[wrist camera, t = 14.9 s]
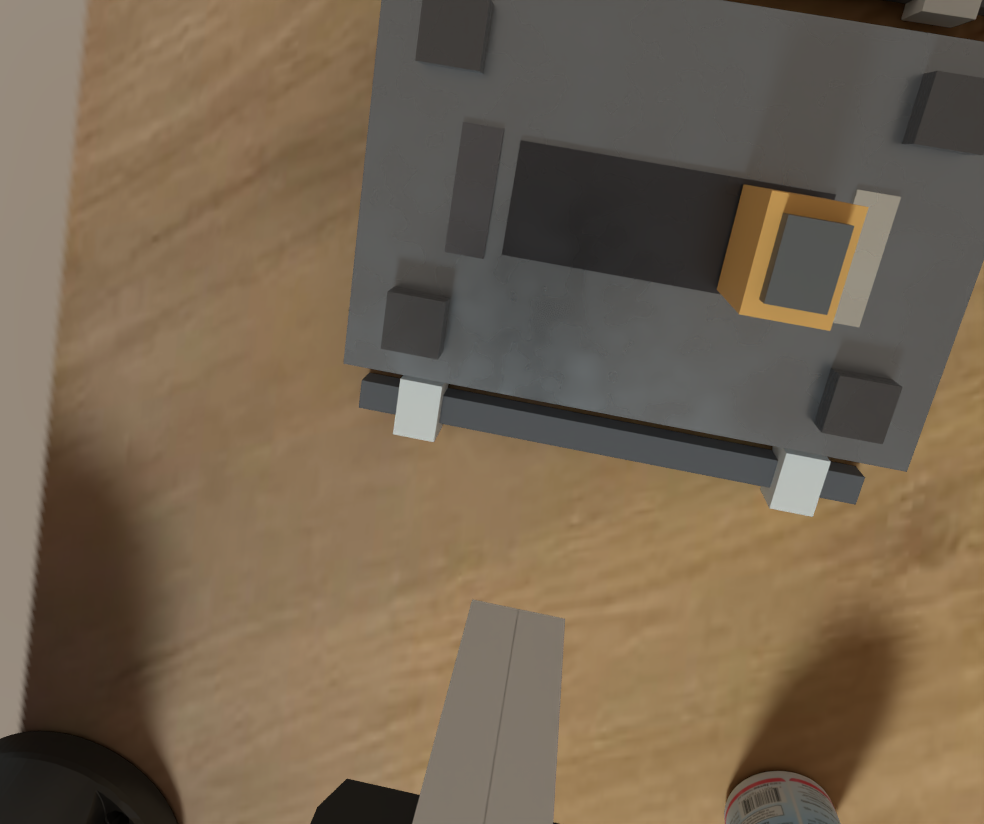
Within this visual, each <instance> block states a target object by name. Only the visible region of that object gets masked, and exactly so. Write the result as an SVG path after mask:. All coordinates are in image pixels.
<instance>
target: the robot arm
mask: <svg viewBox="0 0 984 824" xmlns="http://www.w3.org/2000/svg"><path fill="white" fill-rule="evenodd" d="M564 627H565V619H563V618H559V617H554V616H549V615H544V614H540V613H535V612H530V611H525V610H520V609H516V608H511V607H506V606H501V605H496V604H492V603H487V602H482V601H477V600H472V602H471V606H470V610H469V614H468V617H467V621H466V625H465V629H464V632H463V636H462V640H461V643H460V647H459V651H458V655H457V658H456V662H455V666H454V670H453V673H452V677H451V681H450V685H449V688H448V692H447V696H446V700H445V703H444V707H443V711H442V714H441V718H440V722H439V726H438V729H437V733H436V737H435V741H434V744H433V748H432V752H431V756H430V759H429V763H428V767H427V770H426V774H425V778H424V782H423V785H422V789H421V793H420V795H417V794H413V793H408V792H404V791H399V790H395V789H391V788H386V787H382V786H377V785H373V784H368V783H364V782H359V781H355V780H351V779H346V780H345V781H344V782H343V783H342V784H341V785H340V786H339V787H338V788H337V789H336V790H335V791H334V792H333V793H332V794H331V795H329V796H328V797H327V798H326V799H325V800H324V801H323V802H322V803H321V804H320V805H319V806H318V807H317V809H316V812H315V814H314V817H313V819H312V821H311V824H558V823H554V822H553V816H554V799H555V782H556V765H557V748H558V730H559V713H560V696H561V679H562V662H563V645H564ZM0 824H177V822H176V819H175V817H174V814H173V812H172V810H171V809H170V807H169V805H168V803H167V802H166V800H165V799H164V797H163V796H162V794H161V793H160V792H159V790H158V789H157V788H156V787H155V786H154V784H153V783H152V782H151V781H150V780H149V779H148V778H147V777H146V776H145V775H144V774H143V773H142V772H141V771H139V770H138V769H137V768H136V767H135V766H133V765H132V764H131V763H129V762H128V761H127V760H125V759H124V758H122V757H121V756H119V755H117V754H116V753H114V752H112V751H111V750H109V749H107V748H105V747H103V746H101V745H98V744H96V743H94V742H91V741H88V740H86V739H83V738H80V737H76V736H72V735H68V734H63V733H56V732H46V731H33V732H23V733H17V734H14V735H10V736H6V737H4V738H1V739H0Z"/></svg>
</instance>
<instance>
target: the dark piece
mask: <svg viewBox="0 0 984 824" xmlns="http://www.w3.org/2000/svg"><path fill="white" fill-rule="evenodd" d="M885 1H892V2H898V3H904V4H905V8H904V11H903V14H902V18H901V20H904V21H910V22H917V23H923V24H929V25H936V26H942V27H948V28H952V27H955V26H958V25H961V24H964V23H967V22H970V21H972V20H975V19H976V17H977V15H981V16H984V0H885ZM448 385H449V384H448V383H443V382H438V381H432V380H427V379H422V378H417V377H412V376H406V375H403V376H402V377H401V379H400V378H395V377H390V376H384V375H379V374H374V373H369V374H368V375H367V376H366V377H365V378H364V379H363V380H362V384H361V393H360V401H359V408H364V409H369V410H375V411H380V412H385V413H390V414H395V415H396V416H395V424H394V431H393V434H395V435H400V436H406V437H411V438H416V439H421V440H426V441H431V442H434V441H435V439H436V437H437V435H438V434H439V432H440V430H441V428H442V424H446V425H451V426H456V427H462V428H467V429H472V430H477V431H482V432H487V433H492V434H497V435H502V436H508V437H513V438H518V439H523V440H528V441H533V442H538V443H543V444H548V445H554V446H559V447H564V448H569V449H574V450H579V451H584V452H589V453H595V454H600V455H605V456H610V457H615V458H620V459H625V460H630V461H635V462H641V463H646V464H651V465H656V466H661V467H666V468H671V469H676V470H681V471H687V472H692V473H697V474H702V475H707V476H712V477H717V478H722V479H728V480H733V481H738V482H743V483H748V484H753V485H758V486H761V488H760V490H761V492H762V494H763V496H764V498H765V500H766V502H767V504H768V506H769V508H771V509H776V510H781V511H786V512H791V513H796V514H801V515H806V516H811V517H813V515H814V512H815V508H816V505H817V502H818V499H819V497H820V498H825V499H830V500H835V501H840V502H845V503H850V504H855V505H856V502H857V499H858V496H859V493H860V490H861V487H862V484H863V482H864V479H865V477H864V476H863V475H862V473H861V472H860V471H859V470H858V469H857V467H856V466H852V465H847V464H841V463H836V462H831V461H830V460H829V459H828V457H827V456H822V455H817V454H812V453H807V452H802V451H796V450H791V449H786V448H781V447H776V446H773V448H772V450H769V449H764V448H758V447H753V446H748V445H743V444H738V443H732V442H727V441H722V440H717V439H712V438H706V437H701V436H696V435H691V434H686V433H680V432H675V431H670V430H665V429H660V428H655V427H649V426H644V425H639V424H634V423H629V422H623V421H618V420H613V419H608V418H603V417H597V416H592V415H587V414H582V413H577V412H571V411H566V410H561V409H556V408H551V407H545V406H540V405H535V404H530V403H525V402H520V401H514V400H509V399H504V398H499V397H494V396H488V395H483V394H478V393H473V392H468V391H462V390H457V389H452V388H448Z"/></svg>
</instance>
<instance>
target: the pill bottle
mask: <svg viewBox="0 0 984 824" xmlns="http://www.w3.org/2000/svg"><path fill="white" fill-rule="evenodd" d="M724 819H725V824H840V821H839V818H838V816H837V813H836V811H835V808H834V806H833V804H832V801H831V799H830V798H829V796H828V795H827V793H826V792H825V791H824V789H823V788H822V787H821V786H819V785H818V784H817V783H816V782H814V781H813V780H811V779H810V778H807V777H805V776H803V775H800V774H797V773H793V772H787V771H769V772H764V773H759V774H756V775H754V776H751V777H749V778H747V779H745V780H744V781H742V782H741V783H740V784H738V785H737V786H736V787H735V788H734V789H733V791H732V792H731V794H730V795H729V797H728V799H727V802H726V805H725V811H724Z"/></svg>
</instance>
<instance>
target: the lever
mask: <svg viewBox="0 0 984 824" xmlns="http://www.w3.org/2000/svg"><path fill="white" fill-rule="evenodd" d="M868 208H869V207H866V206H861V205H856V204H851V203H846V202H841V201H836V200H831V199H826V198H820V197H814V196H809V195H803V194H797V193H791V192H785V191H780V190H774V189H768V188H762V187H756V186H751V185H745V184H744V185H743V189H742V193H741V196H740V200H739V204H738V208H737V212H736V216H735V220H734V224H733V228H732V232H731V235H730V239H729V243H728V247H727V251H726V255H725V259H724V263H723V267H722V271H721V274H720V278H719V282H718V286H717V291H718V292H719V293H720V294H721V295H722V296H723V297H724V298H725V299H726V301H727V302H728V303H729V304H730V305H731V306H732V307H733V308H734V309H735V310H736V312H737V313H738V314H740V315H745V316H751V317H756V318H762V319H767V320H773V321H778V322H784V323H789V324H795V325H800V326H806V327H811V328H817V329H822V330H828V331H830V330H831V327H832V324H833V321H834V317H835V314H836V311H837V308H838V305H839V301H840V298H841V295H842V292H843V288H844V285H845V282H846V279H847V275H848V272H849V269H850V266H851V263H852V259H853V256H854V253H855V250H856V246H857V243H858V240H859V237H860V233H861V230H862V227H863V224H864V221H865V217H866V214H867V211H868Z"/></svg>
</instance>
